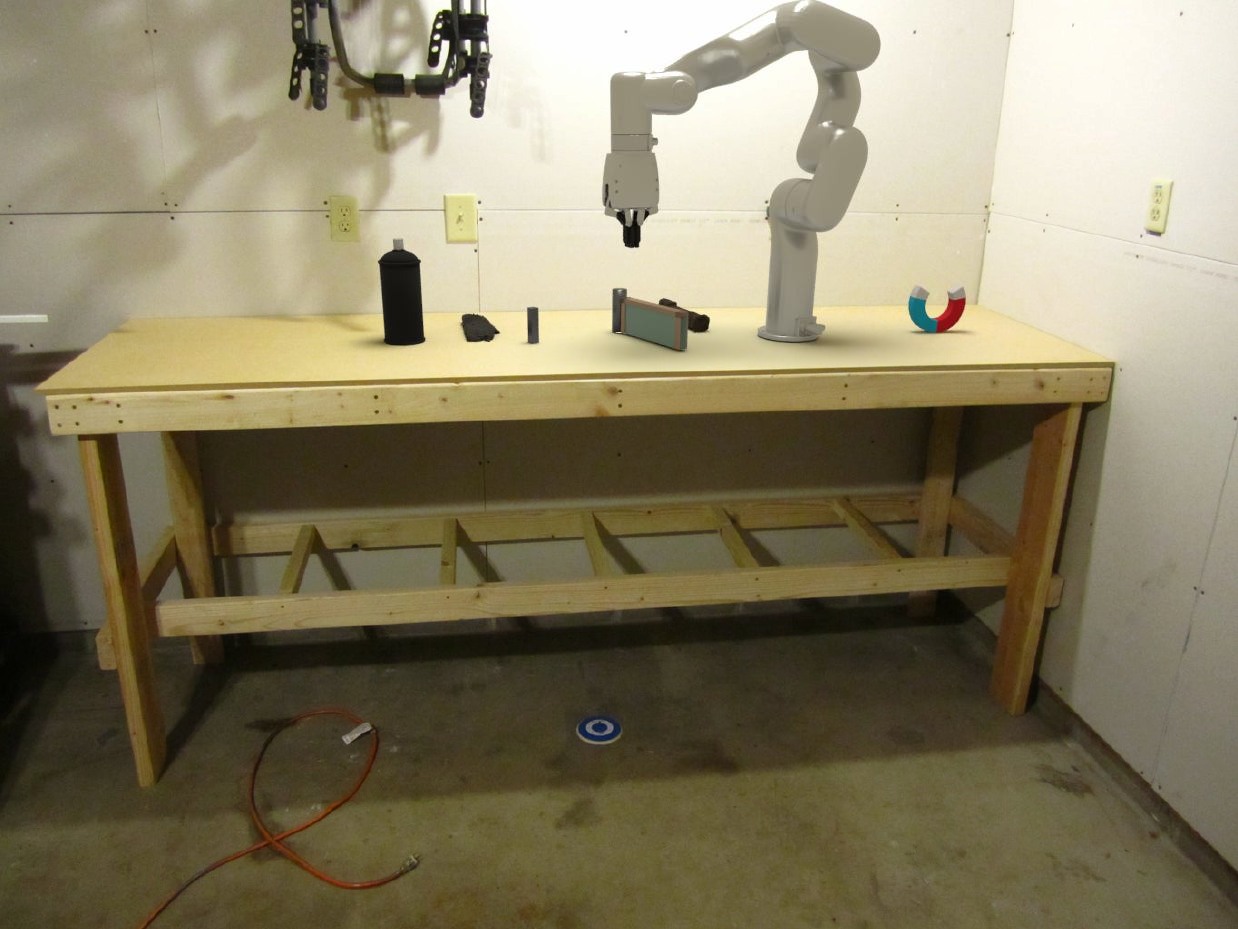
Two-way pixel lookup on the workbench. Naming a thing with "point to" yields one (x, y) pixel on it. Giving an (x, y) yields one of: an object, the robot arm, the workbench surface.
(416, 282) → the aerosol can
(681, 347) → the gate
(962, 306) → the magnet
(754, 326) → the workbench surface
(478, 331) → the wood
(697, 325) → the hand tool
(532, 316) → the gate posts
